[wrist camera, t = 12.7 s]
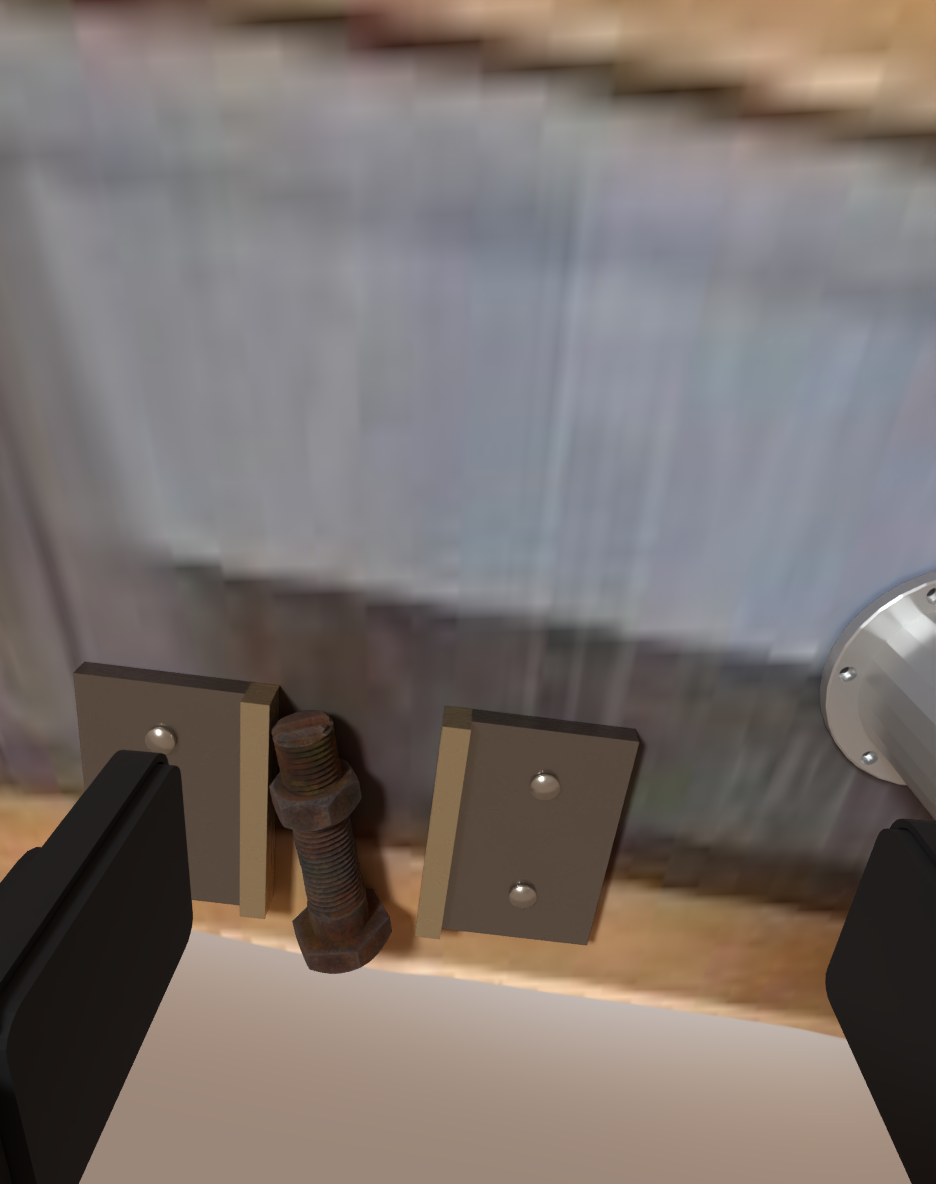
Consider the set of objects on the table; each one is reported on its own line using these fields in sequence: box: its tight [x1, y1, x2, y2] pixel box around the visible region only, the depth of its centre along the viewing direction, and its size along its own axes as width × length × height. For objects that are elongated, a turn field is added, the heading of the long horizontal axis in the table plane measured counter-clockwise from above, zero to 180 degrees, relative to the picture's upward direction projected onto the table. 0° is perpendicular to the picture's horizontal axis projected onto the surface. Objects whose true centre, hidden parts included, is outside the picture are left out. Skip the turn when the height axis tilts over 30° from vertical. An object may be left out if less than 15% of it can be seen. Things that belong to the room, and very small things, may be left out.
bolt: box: [269, 710, 392, 974], centre depth 42 cm, size 6×5×15 cm
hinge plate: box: [73, 662, 639, 945], centre depth 43 cm, size 30×15×2 cm, turn 83°
